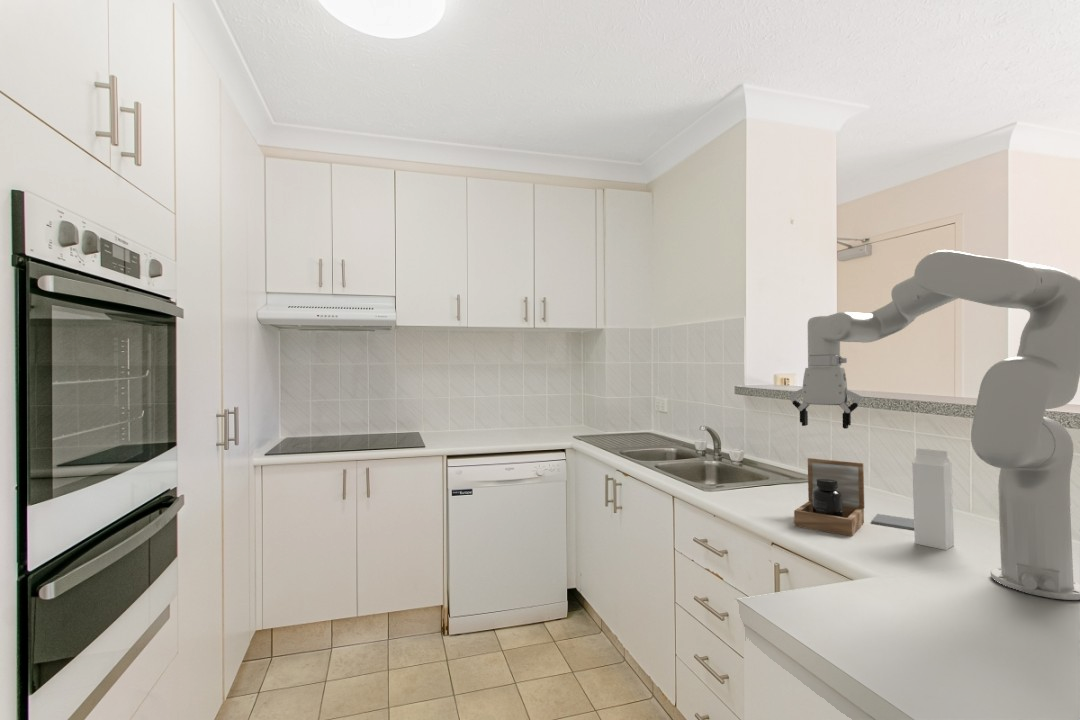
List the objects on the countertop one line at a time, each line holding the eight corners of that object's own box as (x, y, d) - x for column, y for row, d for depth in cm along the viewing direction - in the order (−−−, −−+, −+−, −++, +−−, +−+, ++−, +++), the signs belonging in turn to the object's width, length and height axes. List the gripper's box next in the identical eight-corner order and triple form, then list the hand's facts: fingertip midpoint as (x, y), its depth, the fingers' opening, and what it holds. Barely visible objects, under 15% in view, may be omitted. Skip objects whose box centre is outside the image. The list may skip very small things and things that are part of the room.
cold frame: (852, 536, 122) (851, 470, 123) (793, 525, 131) (792, 464, 132) (864, 523, 134) (863, 463, 134) (809, 514, 143) (808, 457, 143)
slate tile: (917, 530, 127) (917, 528, 127) (871, 523, 134) (871, 520, 134) (921, 522, 134) (921, 520, 134) (877, 515, 141) (877, 513, 141)
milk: (946, 550, 112) (943, 452, 113) (914, 543, 117) (911, 449, 118) (954, 545, 116) (951, 450, 116) (922, 538, 120) (920, 447, 121)
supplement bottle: (848, 530, 127) (847, 482, 128) (821, 529, 127) (820, 482, 128) (833, 522, 134) (832, 477, 135) (808, 522, 134) (807, 477, 135)
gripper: (864, 362, 130) (865, 428, 129) (792, 363, 141) (793, 423, 141) (859, 361, 124) (860, 430, 124) (784, 362, 136) (785, 425, 135)
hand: (824, 426), depth 132 cm, fingers open, 9 cm apart
